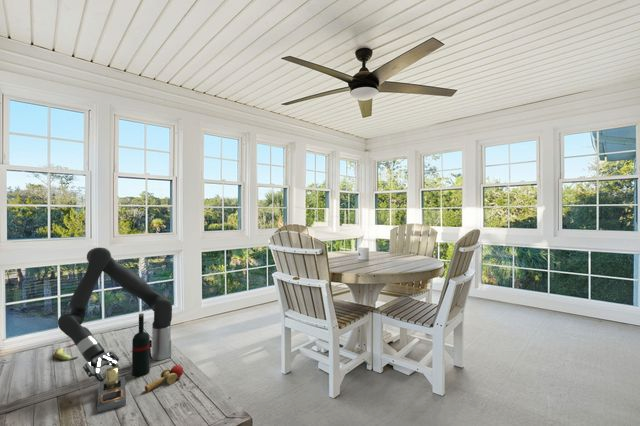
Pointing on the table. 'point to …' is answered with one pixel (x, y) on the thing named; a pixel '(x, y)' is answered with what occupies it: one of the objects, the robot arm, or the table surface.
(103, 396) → the grey flat frame
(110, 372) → the brass peg
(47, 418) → the table surface
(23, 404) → the table surface
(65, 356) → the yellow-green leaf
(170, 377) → the kendama
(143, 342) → the wine bottle
